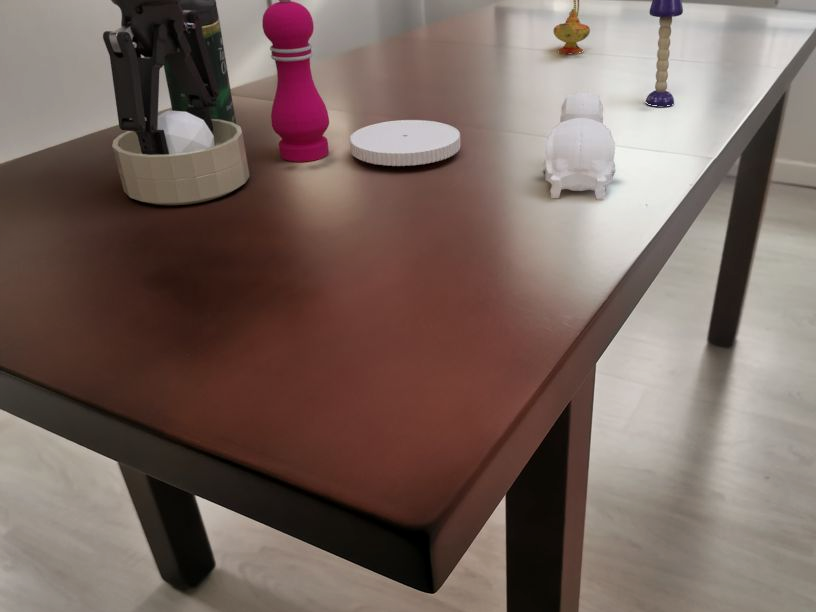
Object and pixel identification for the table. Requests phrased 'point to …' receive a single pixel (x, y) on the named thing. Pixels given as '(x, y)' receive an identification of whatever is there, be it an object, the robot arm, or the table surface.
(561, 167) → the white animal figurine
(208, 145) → the geometric ball
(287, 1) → the pepper mill
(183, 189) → the bowl
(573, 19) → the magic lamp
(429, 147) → the plastic lid
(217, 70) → the coffee jar
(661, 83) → the toy lamp
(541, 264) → the table surface
